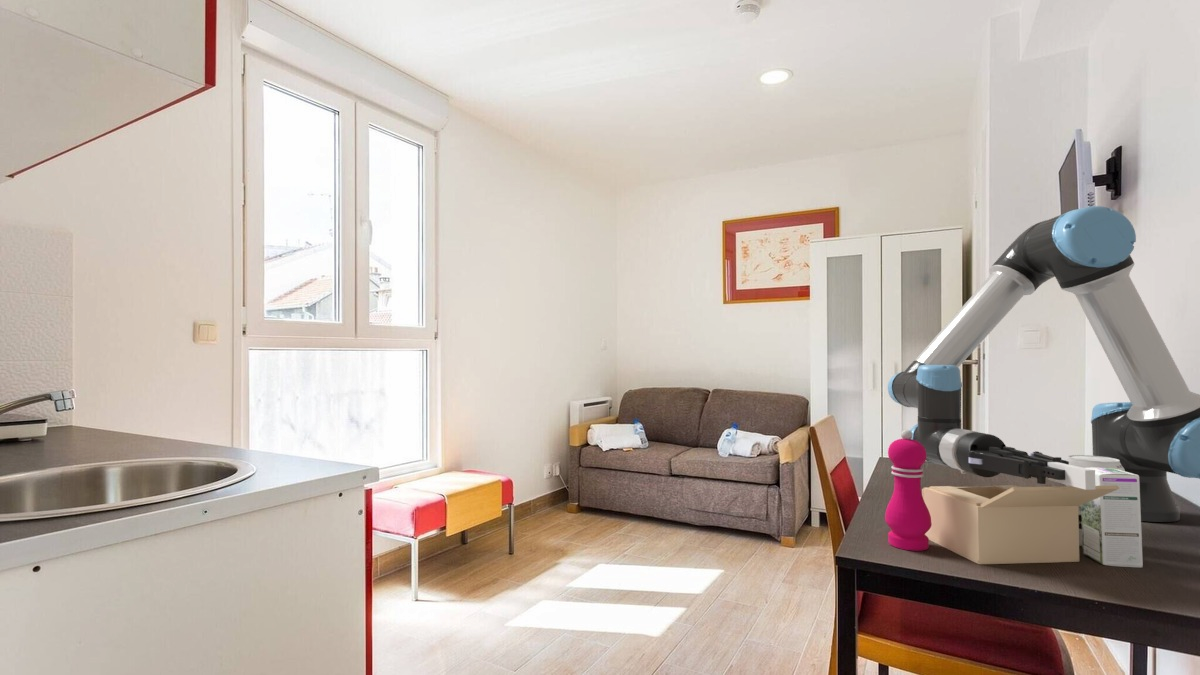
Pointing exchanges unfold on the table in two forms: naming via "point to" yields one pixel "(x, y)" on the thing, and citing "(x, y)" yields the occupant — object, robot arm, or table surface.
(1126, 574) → the table surface
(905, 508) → the pepper mill
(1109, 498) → the syrup box
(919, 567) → the table surface
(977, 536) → the carton
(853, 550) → the table surface
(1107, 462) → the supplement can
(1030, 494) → the long flap
